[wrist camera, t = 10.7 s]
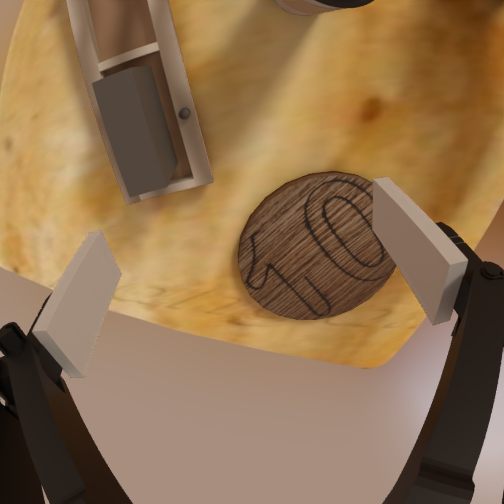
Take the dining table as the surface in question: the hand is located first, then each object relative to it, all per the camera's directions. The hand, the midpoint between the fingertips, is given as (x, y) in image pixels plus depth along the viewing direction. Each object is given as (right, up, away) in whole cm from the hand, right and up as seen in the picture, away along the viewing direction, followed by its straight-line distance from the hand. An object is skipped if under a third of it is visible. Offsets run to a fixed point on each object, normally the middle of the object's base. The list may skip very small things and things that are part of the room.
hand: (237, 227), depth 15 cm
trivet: (+11, -1, +32) cm, 34 cm away
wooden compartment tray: (-13, +21, +14) cm, 28 cm away
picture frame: (-11, +14, +18) cm, 25 cm away
